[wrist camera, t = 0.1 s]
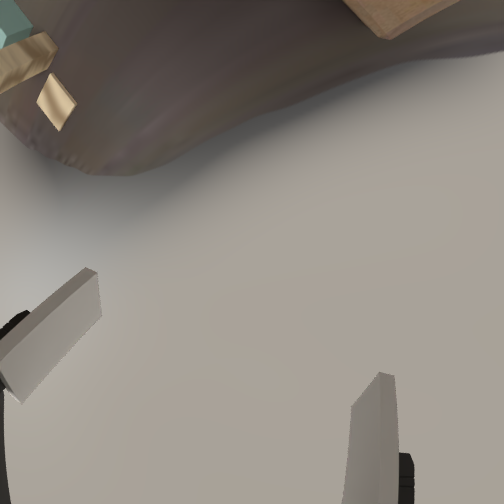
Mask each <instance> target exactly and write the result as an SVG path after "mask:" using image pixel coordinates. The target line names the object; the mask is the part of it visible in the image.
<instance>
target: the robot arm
mask: <svg viewBox="0 0 504 504" xmlns="http://www.w3.org/2000/svg"><path fill="white" fill-rule="evenodd" d="M101 316H102V312H101V304H100V295H99V285H98V274H97V272H95V271H93V270H90V269H88V268H86V267H85V268H84V269H83V270H81V271H80V272H79V273H78V274H77V275H75V276H74V277H73V278H71V279H70V280H69V281H68V282H66V283H65V284H64V285H63V286H62V287H60V288H59V289H58V290H57V291H55V292H54V293H53V294H52V295H51V296H50V297H48V298H47V299H46V300H45V301H44V302H42V303H41V304H40V305H39V306H38V307H37V308H35V309H34V310H33V311H32V312H31V313H30V312H29V311H28V310H25V311H23V312H21V313H19V314H17V315H16V316H14V317H13V318H12V319H11V320H10V321H9V323H6V324H5V325H4V326H3V328H1V329H0V504H11V501H10V495H9V488H8V480H7V472H6V462H5V447H4V392H3V390H4V389H5V388H6V389H7V390H8V392H9V394H10V395H11V396H12V397H13V398H14V399H16V400H17V401H18V402H19V403H20V404H22V403H24V401H25V400H26V399H27V398H28V397H29V395H30V394H31V393H32V392H33V391H34V389H35V388H36V387H37V386H38V385H39V384H40V383H41V382H42V380H43V379H44V378H45V377H46V376H47V375H48V374H49V372H50V371H51V370H52V369H53V368H54V367H55V366H56V364H58V362H59V361H60V360H61V359H62V358H63V357H64V356H65V355H66V354H67V352H68V351H69V350H70V349H71V348H72V347H73V346H74V345H75V344H76V343H77V342H78V340H80V338H81V337H82V336H83V335H84V334H85V333H86V332H87V331H88V330H89V329H90V328H91V327H92V326H93V325H94V324H95V323H96V321H98V319H99V318H100V317H101ZM414 485H415V483H414V463H413V460H412V458H411V455H410V454H409V453H399V440H398V418H397V402H396V390H395V378H394V376H393V375H389V374H385V373H381V372H379V373H378V374H377V376H376V377H375V378H374V380H373V381H372V382H371V383H370V385H369V386H368V387H367V388H366V390H365V391H364V392H363V393H362V395H361V396H360V397H359V398H358V399H357V401H356V402H355V403H354V404H353V405H352V407H351V422H350V435H349V447H348V458H347V467H346V476H345V484H344V491H343V499H342V504H414Z"/></svg>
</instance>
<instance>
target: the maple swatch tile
mask: <svg viewBox="0 0 504 504" xmlns="http://www.w3.org/2000/svg"><path fill="white" fill-rule="evenodd" d="M37 104H38V105H39V106H40V108H41V109H42V110H43V111H44V113H45V114H46V115H47V117H48V118H49V119H50V121H51V122H52V123H53V124H54V126H55V127H56V128H57V129H58V131H60V130H61V129H62V128H63V126H64V124H65V123H66V121H67V119H68V118H69V116H70V115H71V113H72V111H73V110H74V108H75V107H76V105H77V102H76V101H75V100H74V99H73V97H72V96H71V95H70V94H69V92H68V91H67V90H66V89H65V87H64V86H63V85H62V84H61V82H60V81H59V80H58V78H57V77H56V76H55V75H54V73H51V74H50V75H49V77H48V79H47V81H46V83H45V85H44V87H43V89H42V91H41V93H40V96H39V98H38V100H37Z"/></svg>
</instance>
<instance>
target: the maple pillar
mask: <svg viewBox="0 0 504 504" xmlns="http://www.w3.org/2000/svg"><path fill="white" fill-rule="evenodd" d="M58 49H59V48H58V47H57V46H56V45H55V43H54V42H53V41H52V40H51V38H50V37H49V36H48V34H47V33H46V32H42V33H39V34H36V35H34V36H31V37H28V38H26V39H23V40H21V41H18V42H16V43H13V44H11V45H9V46H6V47H4V48H2V49H0V94H1V93H3V92H4V91H6V90H8V89H10V88H11V87H13V86H15V85H17V84H19V83H21V82H22V81H24V80H26V79H28V78H30V77H32V76H34V75H36V74H38V73H40V72H42V71H44V70H47V69H48V68H49V66H50V64H51V62H52V60H53V58H54V56H55V54H56V53H57V51H58Z"/></svg>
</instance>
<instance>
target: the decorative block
mask: <svg viewBox="0 0 504 504" xmlns="http://www.w3.org/2000/svg"><path fill="white" fill-rule="evenodd" d="M342 1H343V2H344V3H345V4H346V5H347V6H348V7H349V8H350V9H351V10H352V11H353V12H354V13H355V14H356V15H357V16H358V17H359V18H360V20H361V21H362V22H363V23H364V24H365V25H366V26H367V27H369V28H370V29H371V30H372V31H373V33H374V34H376V35H377V36H378V37H380V38H384V39H389V40H391V39H393V38H395V37H396V36H398V35H399V34H401V33H403V32H404V31H406V30H408V29H409V28H411V27H413V26H414V25H416V24H418V23H420V22H421V21H423V20H425V19H427V18H428V17H430V16H432V15H434V14H436V13H437V12H439V11H441V10H443V9H445V8H447V7H448V6H450V5H452V4H454V3H456V2H458V1H460V0H342Z"/></svg>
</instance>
